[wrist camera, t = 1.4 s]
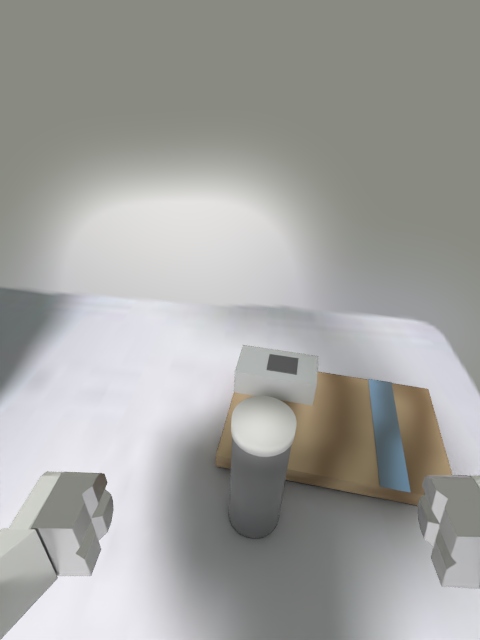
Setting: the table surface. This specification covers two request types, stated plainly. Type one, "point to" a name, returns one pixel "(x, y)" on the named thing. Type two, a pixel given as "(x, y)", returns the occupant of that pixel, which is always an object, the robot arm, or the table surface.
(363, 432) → the board
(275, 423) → the peg
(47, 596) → the table surface
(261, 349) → the block
